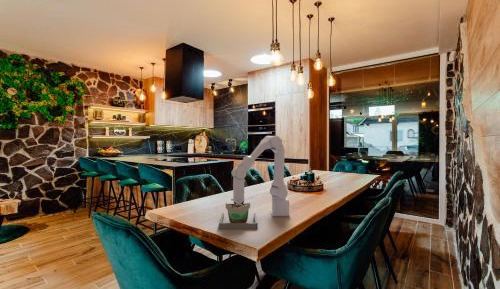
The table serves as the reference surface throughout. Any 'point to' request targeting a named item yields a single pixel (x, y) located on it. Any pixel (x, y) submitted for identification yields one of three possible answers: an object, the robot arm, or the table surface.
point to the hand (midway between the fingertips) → (238, 216)
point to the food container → (238, 212)
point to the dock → (238, 224)
